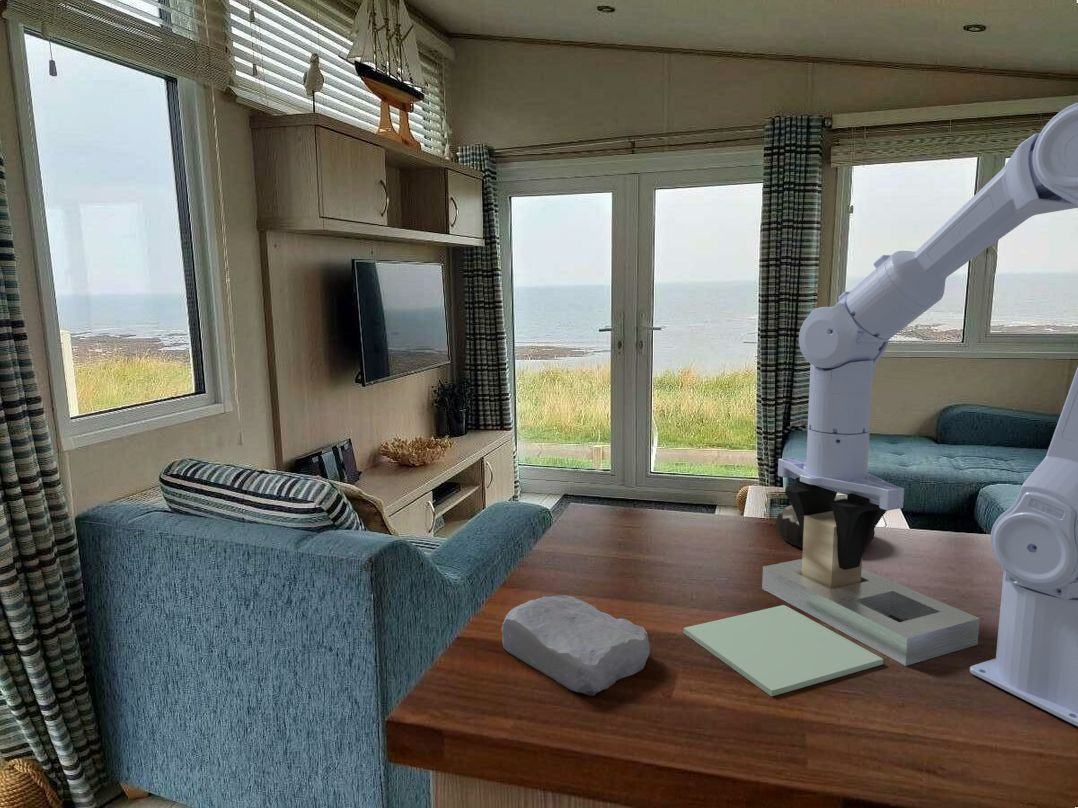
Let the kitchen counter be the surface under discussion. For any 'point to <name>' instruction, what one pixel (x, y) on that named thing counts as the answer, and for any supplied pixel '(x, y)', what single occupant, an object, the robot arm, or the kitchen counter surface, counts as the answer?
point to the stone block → (575, 642)
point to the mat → (781, 649)
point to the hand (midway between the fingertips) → (831, 559)
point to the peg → (825, 553)
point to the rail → (877, 613)
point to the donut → (794, 527)
